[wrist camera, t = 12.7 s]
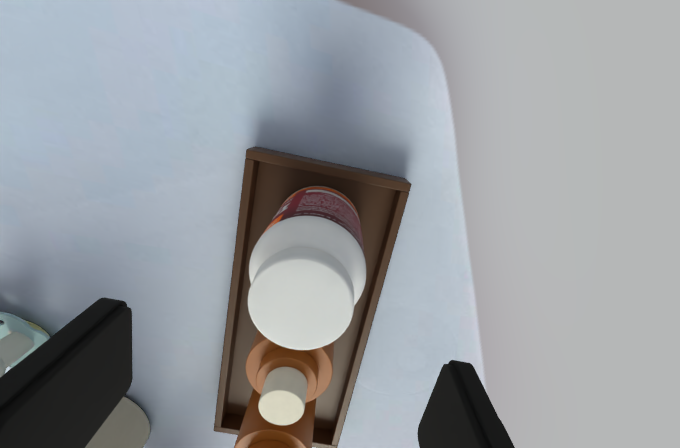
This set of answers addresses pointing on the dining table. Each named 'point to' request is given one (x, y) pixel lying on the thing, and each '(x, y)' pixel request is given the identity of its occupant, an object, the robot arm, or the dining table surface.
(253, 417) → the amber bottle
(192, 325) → the dining table surface
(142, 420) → the travel mug
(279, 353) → the amber bottle middle
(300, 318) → the pill bottle
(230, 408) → the tray
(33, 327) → the pacifier
